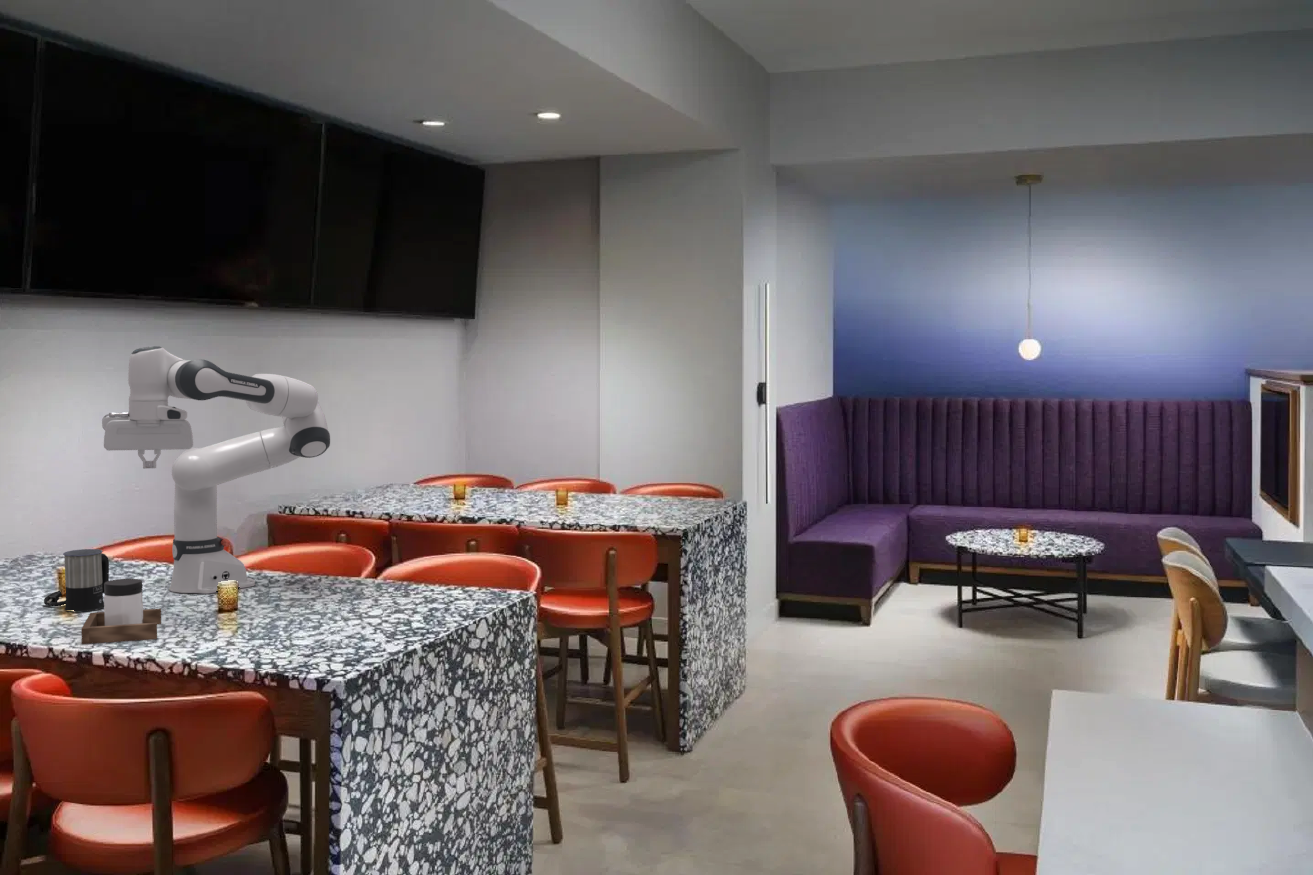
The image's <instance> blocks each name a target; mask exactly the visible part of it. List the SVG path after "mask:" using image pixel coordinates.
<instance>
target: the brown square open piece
mask: <svg viewBox="0 0 1313 875" xmlns="http://www.w3.org/2000/svg"><path fill="white" fill-rule="evenodd" d="M161 624H162V608H149V609H148V608H147V609H145V608H144V609H143V623H141V624H126V625H111V626H105V615H104V611H101V612H99V611H98V612H90V613H89V615H88V616H87V618H86V620H85V622H84V623H83V625H82V627H81V631H80V632H81V633H80V634H81V645H89V644H91V645H92V644H104V642H106V643H117V642H119V643H121V642H130V641H131V642H132V641H143V640H144V641H147V640H157V639H158V625H161Z"/></svg>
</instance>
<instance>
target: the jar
mask: <svg viewBox="0 0 1313 875" xmlns="http://www.w3.org/2000/svg"><path fill="white" fill-rule="evenodd" d="M143 586H144V584H143V580H141V579H139V578H118V579H112V580H109V581H107V582H105V583H104V593H103V602H104V607H103V608H104V610H103V612H104V615H105V626H111V625H126V624H141V623H143V610H144V602H143Z"/></svg>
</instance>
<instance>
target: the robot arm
mask: <svg viewBox="0 0 1313 875" xmlns="http://www.w3.org/2000/svg"><path fill="white" fill-rule="evenodd" d="M129 356H130V357H129V362H128V374H127V375H128V377H127V379H128V380H127V381H128V386H129V390H130V391H129V392H130V393H129V396H128V397H129V398H128V412H109V413H108V414H105V415H104V416H103V417H102V420H101V421H102V422H101V424H102V425H101V426H102V428H103V430H104V437H103V448H104V449H105V450H106V451H108V452H109V451H110V452H111V451H137V455H138V457H139V459H140V461H141V462H142V468H143V469H157V461H158V459H159V457H160V456H161V453H162V451H165V450H166V451H167V450H184V451H182V452H181V453H180V454H179V455H178V456H177V458H176V459H175V460H174V462H173V464H172V466H171V477H172V479H173V481H174V506H173V521H174V522H173V524H174V526H173V528H174V529H173V530H174V538H173V540H172V559H173V568H172V578H171V580H170V581H171V582H170V586H169V588H168V590H169V591H170V592H172V593H178V594H179V593H182V594H203V595H204V594H207V595H208V594H214V593H217V592H216V590H217V585H218V582H221V581H228V580H236V581H238V583H239V586H240V588H239V589H244V588H249V587H254V586H256V581H255V579H253V578H251V577H249V576H247V569H246V566H245V564H244V562H242V561H241V560H240V559H239V558H237V557H235V556H234V555H233V554H231V553H230V552H228V551H227V550H225V549H224V548H225V547H230V545H231V540H229V539H226V538H222V537H219V536H218V524H217V523H218V518H217V517H218V515H217V513H218V512H217V510H218V508H217V506H218V505H217V504H218V502H217V501H218V500H217V499H218V485H222V484H225V483H227V482H230V481H234V480H237V479H239V478H243V477H246V476H250V475H252V474H257V473H261V472H263V471H267V470H271V469H275V468H278V467H280V466H284V465H285V464H288V463H291V462H293V461H295V460H298V459H300V458H309V459H310V458H316V457H317V458H318V457H319V456H322V454H324V453H326V451H327V450H328V449H329V448H330V446H331V434H330V431H329V429H328V423H327V419H326V415H325V414H324V412H323V409H322V407H321V405H320V402H319V395H318V391H317V389H316V388H315V387H314V386H313V384H310V383H307V382H305V381H303V380H300V379H297V378H294V377H289V376H287V375H280V374H275V373H255V374H253V375H252V376H250V375H249V376H248V375H243V374H239V373H234V372H229V371H226V370H223V369H222V368H220V367H219V366H218V365H216V364H215V363H213V362H211V361H209V360H207V359H201V358H197V359H191V360H188V359H187V360H186V359H184V358H180V357H178V356H176V355H175V354H172V353H170V352H169V351H168V350H166V349H165V348H164V347H163V346H159V345H155V346H146V347H140V348H136V349H135V350H133V351H132V352H131V354H130V355H129ZM169 397H173V398H176V399H189V400H195V401H208V400H211V399H215V398H219V397H222V398H230V399H235V400H241V401H244V402H245V403H246V405H247V407H248V408H250V409H251V410H252V411H254V412H257V413H261V414H264V415H268V416H274V417H281V420H282V422H283V425H282V426H278V427H271V428H267V429H263V430H262V429H261V430H260V431H256V432H251V433H248V434H244V435H241V436H237V437H233V438H229V439H227V440H224V441H221V442H217V443H214V444H210V445H207V446H204V447H194V436H193V430H192V426H191V424H190V422H189V421H188V420H187V418H188V412H187V410H185V409H181V408H177V407H175V406H171V405H169V400H168V399H169ZM146 451H153V454H154V455H155V457H154V459H153V460H147V459H146V458H145V457H144V455H145V454H146V453H145V452H146Z"/></svg>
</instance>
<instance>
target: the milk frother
mask: <svg viewBox="0 0 1313 875" xmlns="http://www.w3.org/2000/svg"><path fill="white" fill-rule="evenodd" d="M62 555H63V557H64V581H65V589H66V594H65V600H62V601H59V600H60V598H61V597H62V596H63V595H62V594H61V592H60V590H57V591H54V592H52V593H50V594H47V595H46V597H45V598H44V599H43V604H44V605H45V606H48V607H62V606H61V605H63V606H65V607H64V611H65V610H74V611H87V612H93V611H92V610H94V611H97V610H101V609H103V608H104V583H105V582H107V581H110V580H109V579H110V562H109V561H110V560H109V557H108V556H107V555H106V554H105V553H103V550H102V549H99V548H85V549H73V550H68V551H65V552H63V553H62ZM64 604H66V605H64Z"/></svg>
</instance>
